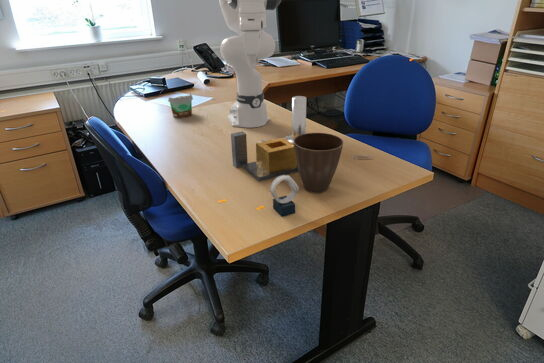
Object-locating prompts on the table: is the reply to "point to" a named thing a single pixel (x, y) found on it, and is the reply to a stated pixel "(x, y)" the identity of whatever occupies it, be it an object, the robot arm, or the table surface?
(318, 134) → the plant pot
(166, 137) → the table surface
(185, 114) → the food container
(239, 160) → the grey square rod
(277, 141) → the gold block fixture
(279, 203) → the watch
